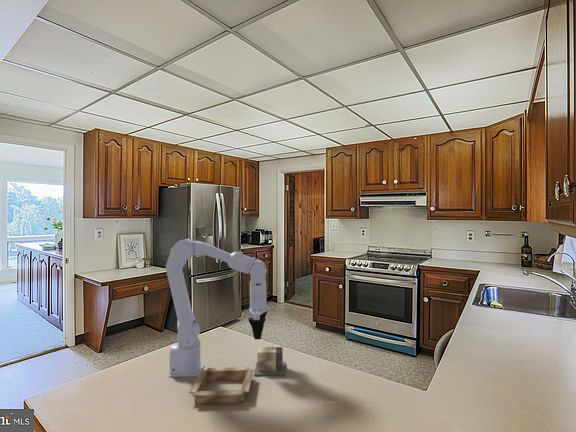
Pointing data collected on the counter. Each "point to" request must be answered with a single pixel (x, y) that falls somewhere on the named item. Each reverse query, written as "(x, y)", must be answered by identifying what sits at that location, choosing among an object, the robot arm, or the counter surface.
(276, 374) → the mat
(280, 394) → the counter surface
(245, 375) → the square wooden frame
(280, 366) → the box
